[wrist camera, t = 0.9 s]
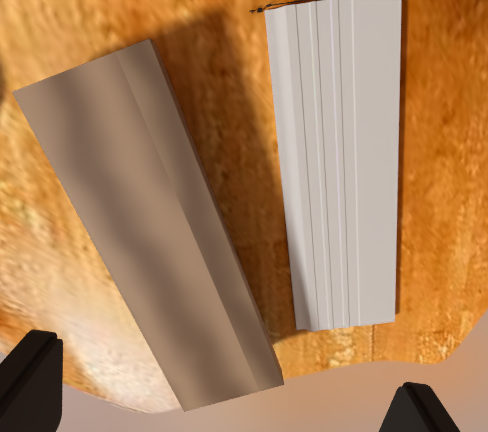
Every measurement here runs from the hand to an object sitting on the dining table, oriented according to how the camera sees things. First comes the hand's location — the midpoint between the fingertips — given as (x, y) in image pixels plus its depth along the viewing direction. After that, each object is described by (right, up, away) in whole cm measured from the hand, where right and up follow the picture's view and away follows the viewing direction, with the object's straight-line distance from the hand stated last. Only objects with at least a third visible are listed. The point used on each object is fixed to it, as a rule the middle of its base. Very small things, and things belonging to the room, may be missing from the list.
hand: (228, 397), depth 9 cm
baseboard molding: (+9, +8, +24) cm, 26 cm away
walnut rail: (-6, +3, +24) cm, 25 cm away
